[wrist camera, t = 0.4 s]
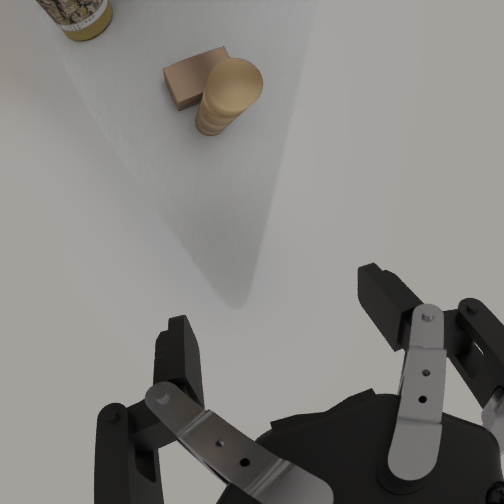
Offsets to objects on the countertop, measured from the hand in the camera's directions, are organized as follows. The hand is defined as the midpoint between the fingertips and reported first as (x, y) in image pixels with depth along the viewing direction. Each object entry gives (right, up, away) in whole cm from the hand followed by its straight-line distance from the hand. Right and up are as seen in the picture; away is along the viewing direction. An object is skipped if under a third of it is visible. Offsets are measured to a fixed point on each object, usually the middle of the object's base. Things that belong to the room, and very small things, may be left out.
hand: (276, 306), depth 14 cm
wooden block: (-7, +23, +20) cm, 31 cm away
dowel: (-6, +18, +21) cm, 28 cm away
